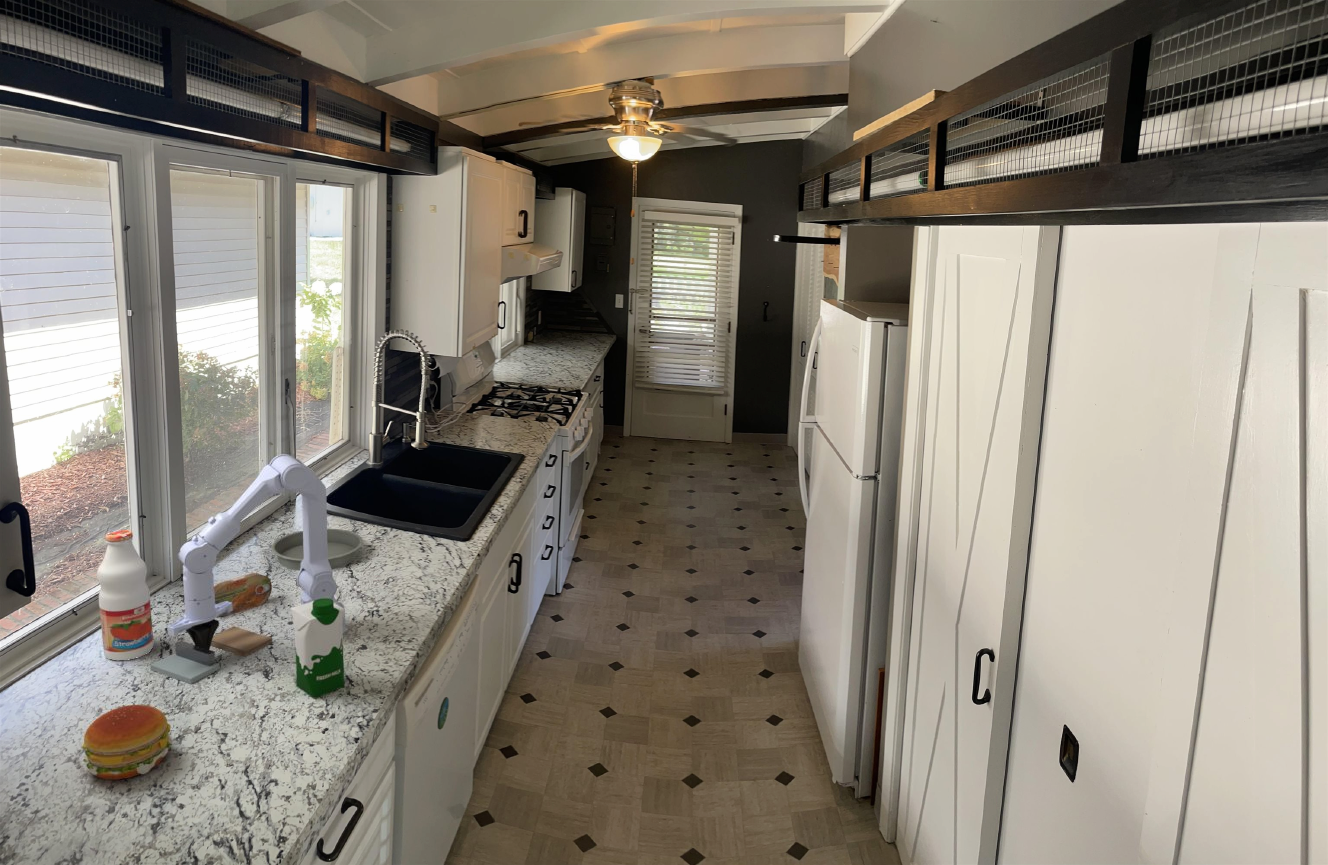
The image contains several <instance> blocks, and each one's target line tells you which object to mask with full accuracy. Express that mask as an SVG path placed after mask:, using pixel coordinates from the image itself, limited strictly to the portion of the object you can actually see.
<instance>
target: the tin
mask: <svg viewBox="0 0 1328 865" xmlns="http://www.w3.org/2000/svg"><path fill="white" fill-rule="evenodd" d="M272 590H273V585H272V582H271V580H270V578H269V577H268V576H266V575H264V574H260V573H255V572H254V573H249V574H245V575H242V576H238V577H235V578H231V579H228V580H225V581H222V582H221V581H220V582H219V583H217V584H216V585H214V594H215V604H219V603H222V602H225V601H228V602H231V603H232V607H233V611H231V612H225V613H223V614H220V615H219V617H227V616H230V615H233V614H237V613H239V612H243V611H246V610H250V609H253V608H256V607H260V606H262V605H264V604H265V603H266V602H267V601H268V599H269V598H270V596H271V594H272Z"/></svg>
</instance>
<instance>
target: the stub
mask: <svg viewBox="0 0 1328 865" xmlns="http://www.w3.org/2000/svg"><path fill="white" fill-rule="evenodd" d="M174 648H175V652H174V653H172V654H170V655H168V656H166V657H163V658H162V659H160V660H157V661H156V662H153V663H151V664H150V665H149V668H150V671H152V670H154V671H153V672H155V671H157V672H156V673H158V672H159V674H161V673H162V674H161V675H163V674H165V675H164V676H166V675H167V676H166V677H170V678H172V677H173V678H172V679H176V680H178V681H180V680H181V681H180V682H183V681H184V682H183V683H187V684H189V685H192V684H194V683H196V682H198V681H201V680H202V679H204V678H205V677H208V676H210V675H211V674H215V671H216V672H217V671H219V670H220V669H221V668H220V667H221V666H220V663H217V662H216V652H215V651H214V650H212V649H210V650H208V649H205V648H202V647H199V646H196V645H195V644H194V643H190V642H186V641H183V640H180V641H178V642H176V643H175V647H174Z"/></svg>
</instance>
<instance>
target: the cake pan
mask: <svg viewBox="0 0 1328 865" xmlns="http://www.w3.org/2000/svg"><path fill="white" fill-rule="evenodd" d="M363 544H364V539H363V537H362V536H360V534H357V533H355V532H353V531H350V530H346V529H345V530H344V529H340V528H327V548H328V561H329V564H330V566H331V569H332V570H334V569H337V568H341V567H343V566H346V565H349V564H351V563H352V562H353V561H355V559H356V558H357V557H358V553H359V550H360V548H361V547H362V546H363ZM271 552H272V553H273V554H274V555H276V556H277V560H278V562H279V564H280V566H282V567H284V568H286V569H289V570H293V571H299V572H300V568H301V562H302V560H303V559H304V548H303V530H301V531H295V532H292V533H289V534H286V535H283V536H281V537H279V538H278V539H276V540H275V541H274V542H273V543H272V544H271Z"/></svg>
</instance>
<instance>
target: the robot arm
mask: <svg viewBox="0 0 1328 865" xmlns="http://www.w3.org/2000/svg"><path fill="white" fill-rule="evenodd" d="M284 488H285V489H286V490H288V491H290V492H295V493H298V494H300V495H301V504H302V505H301V506H302V508H301V511H302V512H301V513H302V531H303V548H304V559H303V560H302V562H301V568H300V571H299V572H298V574H297V576H296V583H297V586H298V587H299V588H300V589H302V590H301V591H302V592H301V596H300V605H303V604H306V603H309V602H313V601H315V600H318V599H322V598H329V599H332V600H333V602H334V603H335V604H337V605H339V606H340V607H342V608H343V609H344V617H343V634H344V633H347V632H348V628H347V627H346V614H345V612H346V609H345V606H344V604H343V603H341V602H340V601H339V600H337V599H336V598H335V595H336V593H337V590H338V584H337V581H335V579H334V575H333V573H334V572H333V569H331V566H330V564H329V561H328V548H327V529H328V514H327V512H328V511H327V510H328V509H327V507H328V506H327V487H326V485H325V483H324V482H323V481H322V480H321V478H319V477H318V475H317V474H316V472H315V471H314V470H313V469H312V468H311V467H308V466H307V465H306V464H305V463H304V462H302V460H299V459H298V458H296V457H294V456H292V455H291V454H288V453H287V454H286V453H283V454H278V455H277V456H274V457H273V458H272V459H271V460H270V462H269V464H267V465H265V466H264V467H263V468H262V469H261V471H260V473H259V474H258V476H257V477H256V478H255V479H254V481H253V482H252V483H251V484H250V485H249V486H248V488H246V490H245V491H244V492H243V494H242V495H241V496H240V497H239V498H238V499H237V500H236V502H235V503H234V504H233V505H232V506H231V507H230V508H229V510H227V511H225V512H219V513H216V515H215V516H213V515H212V516H210V518H208V520H207V521H208V523H207V524H206V525H205V526H204V528H203V529H201V531H200V532H199V533H198V534H197V535H193V537H192V538H191V540H190V541H187V542H185V543H184V544H183V545H182V546H181V547H180V548H179V549H180V550H179V553H178V554H177V557H178V559H179V561H180V562H181V563H182V564H183V565H182V575H183V577H182V582H183V592H184V593H183V597H184V608H185V609H184V615H183V616H182V617H179V619H177V620H176V621H175V622H173V623H172V624H170V625H167V627H166V628H167V635H168V636H171V637H177V636H179V634H180V633H182V632H186V633H187V634H188V635H189V636H190V638H191V640H192V642H193V645H196V646H199V647H202V648H205V649H208V650H211V642H212V639H213V636H214V635H215V633H216V632H217V629H218V628H219V626H220V621H219V619H217V617H218V616H220V614H223V613H225V612H231V611H233V607H232V603H231V602H228V601H225V602H222V603H219V604H215V594H214V587H215V582H214V573H213V567H214V566H215V565H216V562H217V555H218V554H220V553H221V551H222V550H223V549H224V548H225V547H226V546H227V545H228V544H229V543H230V542H231V540H233V539H234V537H235V536H236V535H237V534H239V532H241V522H242V521H243V520H245V518H246V517H247V516H248V515H249V514H251V512H252V511H254V509H255V508H257V507H258V506H259V505H260V504H261V503H262V502H263V501H264V500H265V499H266V498H267V497H269V496H275V495H281V494H285V492H286V491H284ZM293 635H294V636H295V631H294V632H293Z"/></svg>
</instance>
